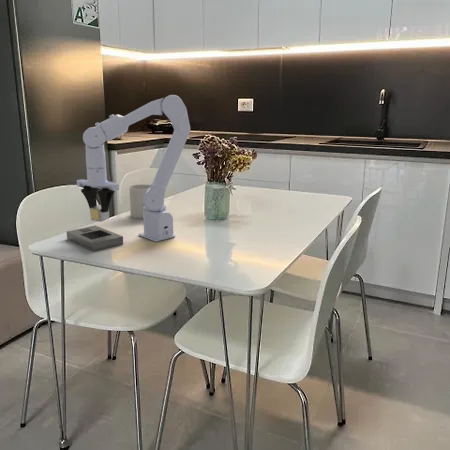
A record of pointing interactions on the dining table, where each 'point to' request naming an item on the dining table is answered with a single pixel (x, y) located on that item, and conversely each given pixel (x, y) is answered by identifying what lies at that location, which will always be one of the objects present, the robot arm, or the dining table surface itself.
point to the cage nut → (98, 214)
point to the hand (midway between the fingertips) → (99, 211)
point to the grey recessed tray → (92, 232)
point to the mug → (137, 200)
